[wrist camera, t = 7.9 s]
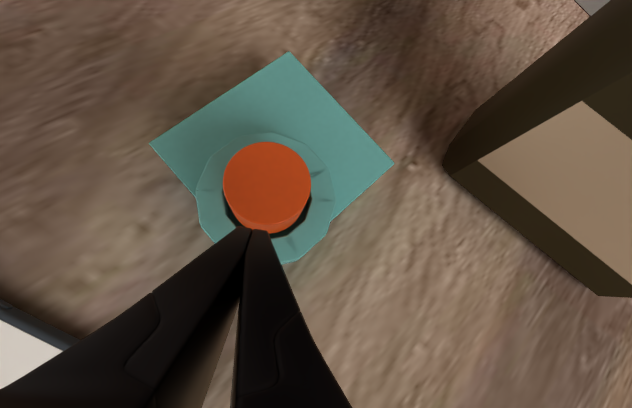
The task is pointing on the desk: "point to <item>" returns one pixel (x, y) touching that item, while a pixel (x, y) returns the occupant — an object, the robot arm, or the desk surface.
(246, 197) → the orange short cylinder
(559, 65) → the bottle
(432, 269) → the desk surface
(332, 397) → the robot arm
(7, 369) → the phone case
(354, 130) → the cap block
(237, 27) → the desk surface
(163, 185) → the desk surface
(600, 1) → the icon cube
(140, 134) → the desk surface
